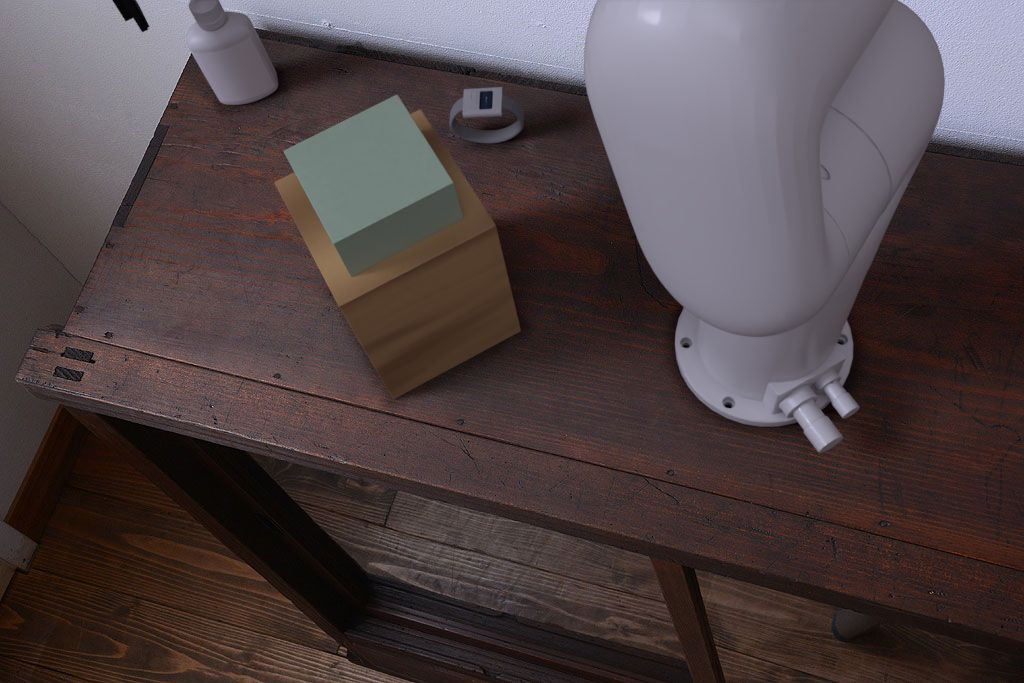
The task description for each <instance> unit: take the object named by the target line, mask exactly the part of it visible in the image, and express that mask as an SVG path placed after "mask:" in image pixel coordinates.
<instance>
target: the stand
mask: <svg viewBox="0 0 1024 683" xmlns="http://www.w3.org/2000/svg"><path fill="white" fill-rule="evenodd" d="M410 115H411V116H412V118H413V119H414V121H415V123H416V124H417V126H418V127H419V129H420V130H421V132H422V134H423V135H424V137H425V138H426V140H427V141H428V143H429V145H430V146H431V148H432V149H433V151H434V152H435V154H436V156H437V157H438V159H439V160H440V162H441V163H442V165H443V167H444V168H445V170H446V171H447V173H448V174H449V176H450V178H451V179H452V181H453V182H454V186H455V189H456V193H457V196H458V200H459V203H460V207H461V210H462V214H463V217H464V219H463V220H461V221H459V222H457V223H455V224H453V225H451V226H449V227H447V228H445V229H443V230H441V231H439V232H437V233H436V234H434V235H432V236H430V237H428V238H426V239H424V240H422V241H420V242H418V243H416V244H414V245H412V246H410V247H408V248H407V249H405V250H403V251H401V252H399V253H397V254H395V255H393V256H391V257H389V258H387V259H385V260H383V261H381V262H379V263H377V264H376V265H374V266H372V267H370V268H368V269H366V270H364V271H362V272H360V273H358V274H356V275H354V276H352V277H351V276H350V275H349V273H348V271H347V269H346V267H345V265H344V263H343V262H342V260H341V258H340V256H339V254H338V252H337V250H336V249H335V247H334V245H333V243H332V241H331V239H330V237H329V236H328V234H327V232H326V230H325V228H324V226H323V224H322V223H321V221H320V219H319V217H318V215H317V213H316V211H315V209H314V208H313V206H312V204H311V202H310V200H309V198H308V196H307V195H306V193H305V191H304V189H303V187H302V185H301V183H300V182H299V180H298V178H297V176H296V174H295V172H294V171H293V172H292V173H290V174H288V175H286V176H284V177H282V178H280V179H278V180H276V181H274V185H275V187H276V189H277V191H278V193H279V195H280V196H281V199H282V201H283V202H284V204H285V206H286V208H287V210H288V212H289V213H290V216H291V217H292V220H293V222H294V224H295V226H296V227H297V229H298V232H299V233H300V235H301V237H302V239H303V240H304V243H305V245H306V247H307V249H308V250H309V252H310V255H311V256H312V258H313V260H314V263H315V264H316V265H317V268H318V269H319V271H320V274H321V275H322V277H323V279H324V281H325V283H326V285H327V287H328V288H329V291H330V293H331V294H332V296H333V298H334V300H335V302H336V305H337V306H338V307H339V309H340V312H341V313H342V315H343V316H344V318H345V320H346V321H347V323H348V325H349V327H350V328H351V330H352V332H353V333H354V335H355V337H356V338H357V340H358V342H359V343H360V345H361V346H362V348H363V349H362V350H364V352H365V354H366V355H367V357H368V359H369V361H370V362H371V364H372V366H373V368H374V370H376V373H377V374H378V376H379V378H380V379H381V381H382V383H383V384H384V386H385V388H386V389H387V392H388V393H389V395H390V396H391V398H392V400H395V399H397V398H399V397H401V396H403V395H405V394H407V393H408V392H410V391H412V390H414V389H416V388H417V387H419V386H422V385H423V384H425V383H427V382H429V381H431V380H433V379H434V378H436V377H439V376H440V375H442V374H444V373H446V372H448V371H449V370H451V369H453V368H455V367H457V366H459V365H461V364H463V363H464V362H466V361H468V360H470V359H472V358H474V357H475V356H477V355H479V354H481V353H483V352H485V351H487V350H488V349H490V348H492V347H494V346H497V345H498V344H500V343H501V342H504V341H505V340H507V339H509V338H511V337H513V336H515V335H517V334H519V333H520V332H521V331H522V329H521V325H520V320H519V316H518V312H517V308H516V304H515V300H514V295H513V291H512V288H511V287H512V286H511V283H510V279H509V274H508V270H507V267H506V262H505V258H504V253H503V250H502V245H501V240H500V236H499V233H498V228H497V225H496V223H495V222H494V220H493V219H492V217H491V216H490V214H489V212H488V211H487V209H486V208H485V206H484V204H483V203H482V201H481V200H480V198H479V197H478V195H477V193H476V192H475V191H474V189H473V188H472V186H471V184H470V183H469V181H468V180H467V178H466V177H465V175H464V173H463V171H462V170H461V169H460V167H459V166H458V164H457V163H456V161H455V160H454V158H453V157H452V155H451V153H450V152H449V150H448V149H447V147H446V146H445V144H444V143H443V140H442V139H441V138H440V136H439V135H438V133H437V132H436V130H435V129H434V127H433V126H432V124H431V122H430V121H429V119H428V117H427V116H426V115H425V113H424V111H423V110H422V108H421V109H418V110H416V111H414V112H411V113H410Z"/></svg>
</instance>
